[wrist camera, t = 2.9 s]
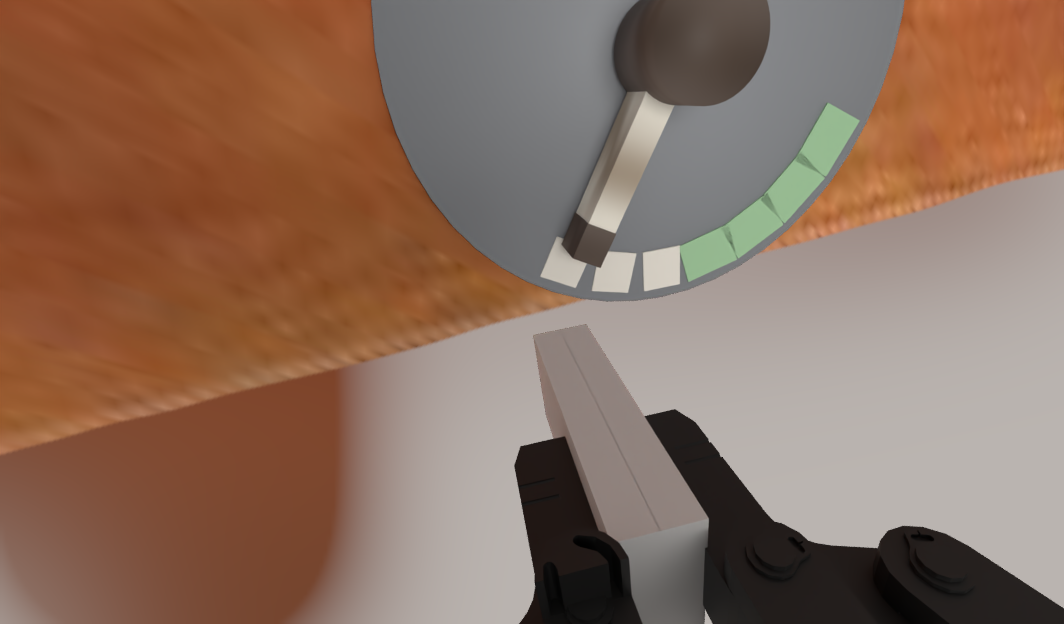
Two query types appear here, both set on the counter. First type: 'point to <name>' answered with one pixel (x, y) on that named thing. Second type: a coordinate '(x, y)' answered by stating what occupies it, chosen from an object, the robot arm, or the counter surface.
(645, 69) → the needle
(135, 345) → the counter surface
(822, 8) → the dial
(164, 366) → the counter surface
